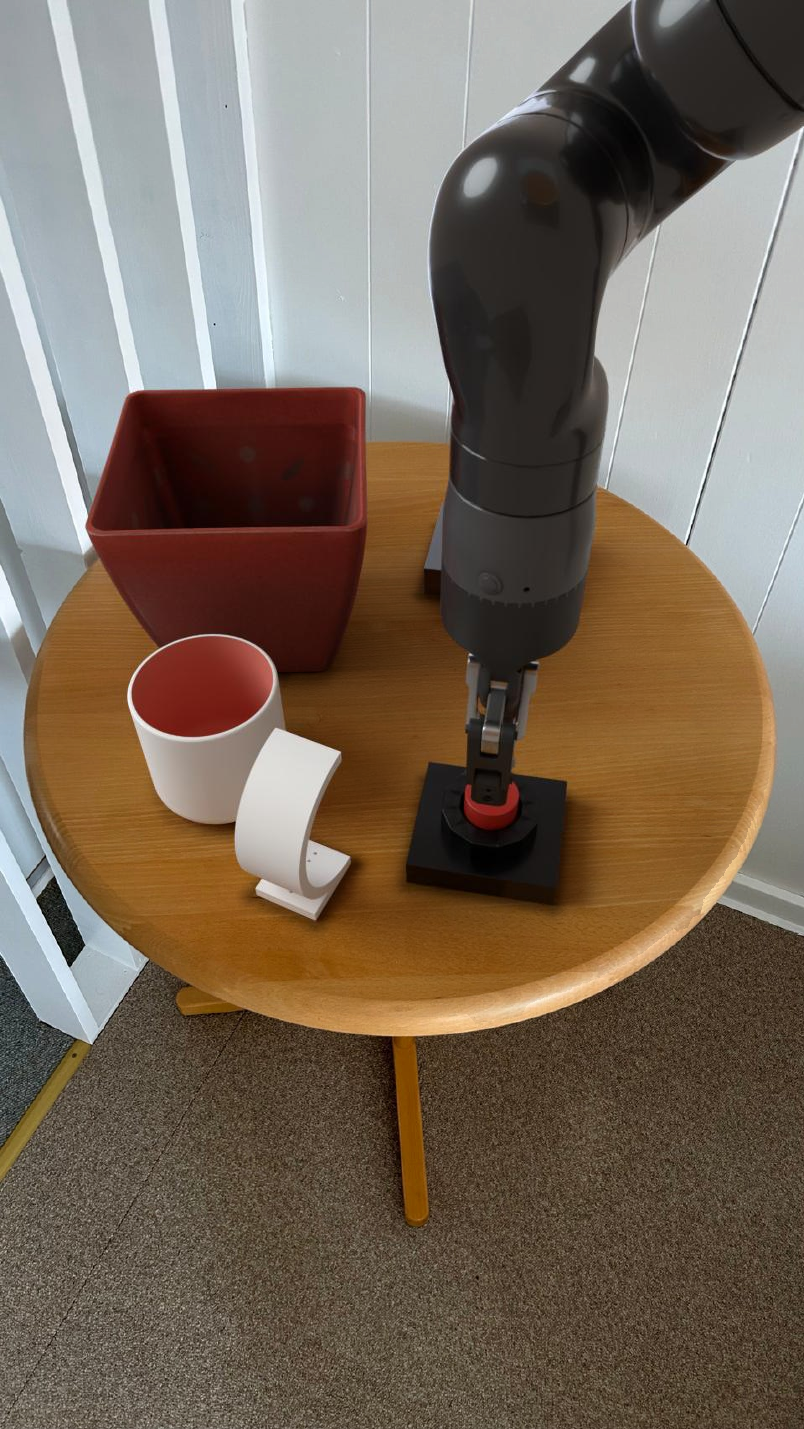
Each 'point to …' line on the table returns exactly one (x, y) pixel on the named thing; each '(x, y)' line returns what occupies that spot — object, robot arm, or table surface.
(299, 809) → the headphone stand
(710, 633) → the table surface
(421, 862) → the button block
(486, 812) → the button
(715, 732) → the table surface
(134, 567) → the plant pot
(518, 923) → the table surface
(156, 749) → the cup
